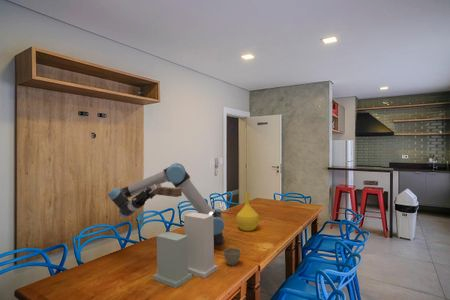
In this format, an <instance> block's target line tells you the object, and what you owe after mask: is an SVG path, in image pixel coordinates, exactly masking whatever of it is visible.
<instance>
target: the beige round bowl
mask: <svg viewBox="0 0 450 300" xmlns="http://www.w3.org/2000/svg"><path fill="white" fill-rule="evenodd" d="M222 253H223V255H224V258H225V261H226V263H227V264H228V266H229V265H230V266H236V265H237V264H238V262H239V260H240V258H241V254H242V251H241V249H239V248H236V247H228V248H226V249H224V250H223V252H222Z"/></svg>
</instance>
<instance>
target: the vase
mask: <svg viewBox="0 0 450 300" xmlns="http://www.w3.org/2000/svg"><path fill="white" fill-rule="evenodd" d="M235 218H236V219H235V220H236V223H237V225H238V227H239V228H240V229H241V231H243V232H244V231H245V232H251V231H254V230H255V229H256V228H257V226H258V224H259V220H260V216H259V214H258V213H257V211H256V210H254V209H253V207H252V206H251V204H250V193H249V192H245V203H244V206H243V207H242V208H241V209H240V211H239V212H238V213H237V214H236V217H235Z"/></svg>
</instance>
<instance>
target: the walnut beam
mask: <svg viewBox="0 0 450 300" xmlns="http://www.w3.org/2000/svg"><path fill="white" fill-rule="evenodd" d="M150 187H151V186H149V187H147V190H148V189H149V188H150ZM156 188H157V189H155V190H154V191H153V192H152V193H150V194H155V196H157V195H158V196H165V197H172V198H173V197H174V198H175V197H176V198H178V197H182V196H183V195H182V194H183V193H182V189H181V188H176V187H169V186H163V187H158V185H157V186H156Z"/></svg>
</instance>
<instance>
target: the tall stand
mask: <svg viewBox="0 0 450 300" xmlns="http://www.w3.org/2000/svg"><path fill="white" fill-rule="evenodd" d="M183 223H184V225H183V226H184V227H183V228H184V234H183V235H186V236H188V273H191V274H192V276H196V277H199V278H202V279H205V278H207V277H209V276H210V275H211V274H213V273H214V272H216V271H218V269H219V267H218V266H219V265H217V264H215V249H214V248H215V247H214V246H215V245H214V229H213V215H208V214H202V213H198V212H189V213H187V214H184V215H183Z"/></svg>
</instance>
